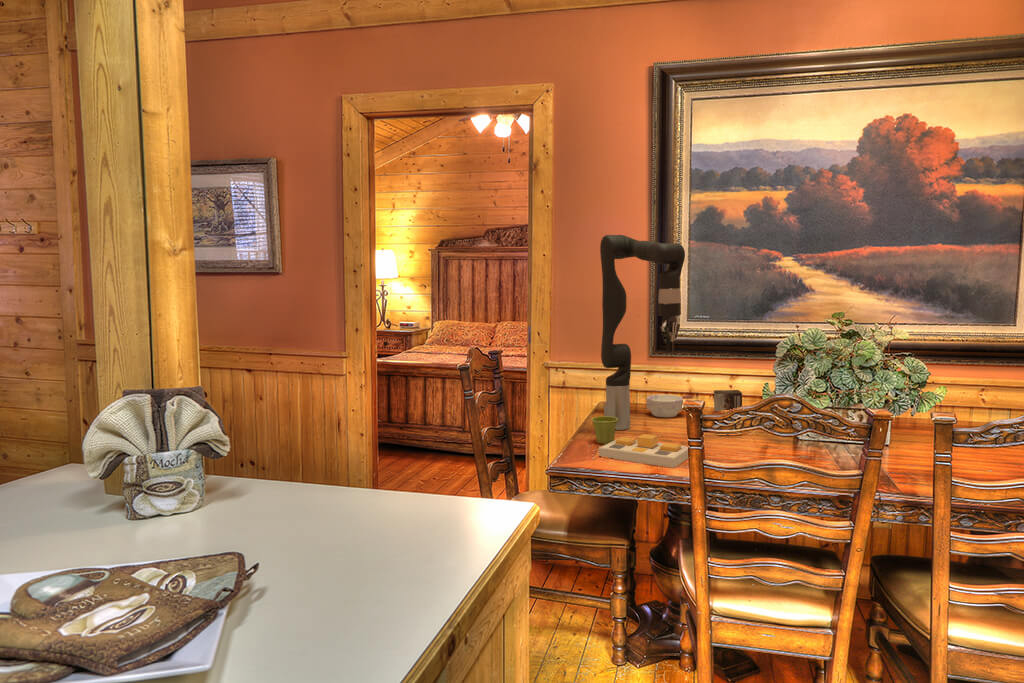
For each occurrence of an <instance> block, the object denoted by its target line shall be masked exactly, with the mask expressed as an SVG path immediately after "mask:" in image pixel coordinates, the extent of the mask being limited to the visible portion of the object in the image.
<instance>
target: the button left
mask: <svg viewBox="0 0 1024 683" xmlns="http://www.w3.org/2000/svg"><path fill="white" fill-rule="evenodd" d="M615 440H616V439H615ZM636 440H637V439H636V438H632V437H627V436H626V437H624V436H622V437H618V438H617V440H616V444H618V445H625V446H631V445H633V444H635V443H636Z"/></svg>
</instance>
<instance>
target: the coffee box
mask: <svg viewBox="0 0 1024 683" xmlns="http://www.w3.org/2000/svg"><path fill="white" fill-rule="evenodd" d="M713 398H714V400H713V402H714V403H713V405H714V406H713V408H714V410H713V411H722V410H730V409H733V408H737V407H741V406H742V407H743V392H741V390H739V389H720V390H718V389H717V390H714V391H713ZM738 433H744V432H738ZM738 433H715V435H717V434H726V435H729V434H738Z"/></svg>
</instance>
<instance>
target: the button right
mask: <svg viewBox="0 0 1024 683" xmlns="http://www.w3.org/2000/svg"><path fill="white" fill-rule="evenodd" d="M681 446H682V445H681V443H672V442H671V443H670V442H665V444H663V445H661V446H660V450H663V451H670V452H677V451H679V450H681Z"/></svg>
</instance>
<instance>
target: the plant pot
mask: <svg viewBox="0 0 1024 683" xmlns="http://www.w3.org/2000/svg"><path fill="white" fill-rule="evenodd" d="M591 421H592V424H593V427H594V432H595V439H596V443H597V442H598V443H597V444H601V443H603V444H602V445H606V444H608V443H610V442H612V441H614V440H615V432H616V430H615V426H616V423H617V421H618V419H617V418H615V417H608V416H594V417H592V418H591Z"/></svg>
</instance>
